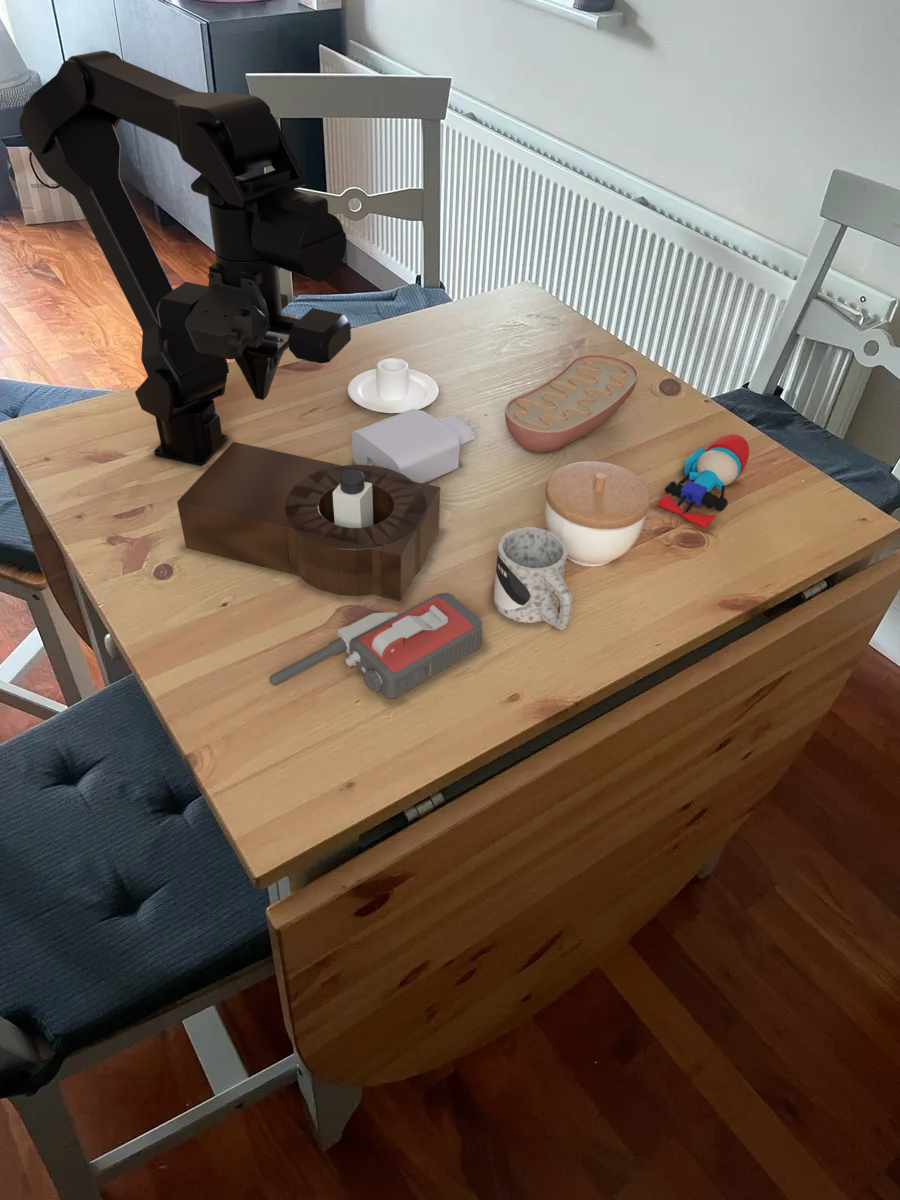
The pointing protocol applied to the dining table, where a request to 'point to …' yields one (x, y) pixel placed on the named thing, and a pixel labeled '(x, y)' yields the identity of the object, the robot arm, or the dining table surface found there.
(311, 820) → the dining table surface
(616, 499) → the trinket box
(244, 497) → the wooden desk organizer
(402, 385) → the candle holder
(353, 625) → the walkie-talkie
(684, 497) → the toy figure
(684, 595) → the dining table surface
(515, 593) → the mug
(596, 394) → the anatomical model
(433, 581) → the dining table surface
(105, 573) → the dining table surface
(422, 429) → the charger
